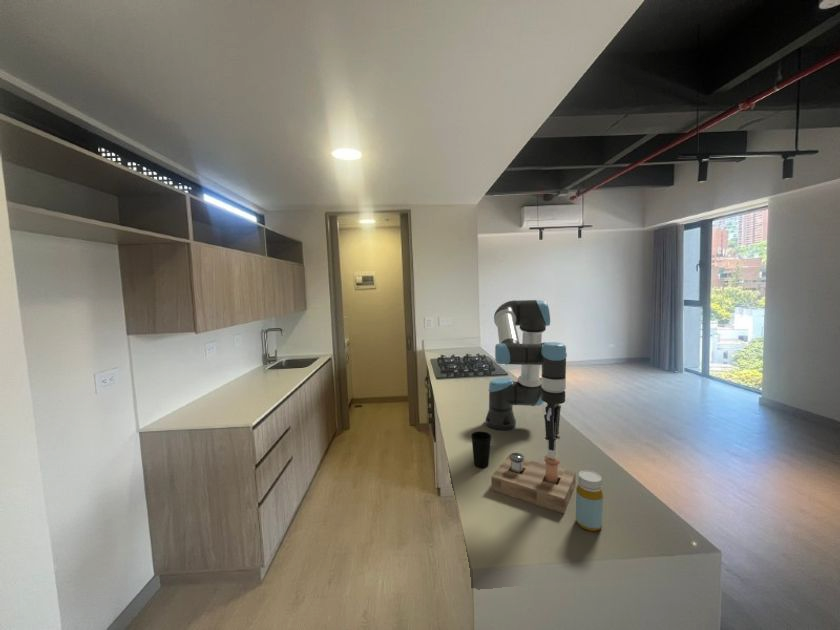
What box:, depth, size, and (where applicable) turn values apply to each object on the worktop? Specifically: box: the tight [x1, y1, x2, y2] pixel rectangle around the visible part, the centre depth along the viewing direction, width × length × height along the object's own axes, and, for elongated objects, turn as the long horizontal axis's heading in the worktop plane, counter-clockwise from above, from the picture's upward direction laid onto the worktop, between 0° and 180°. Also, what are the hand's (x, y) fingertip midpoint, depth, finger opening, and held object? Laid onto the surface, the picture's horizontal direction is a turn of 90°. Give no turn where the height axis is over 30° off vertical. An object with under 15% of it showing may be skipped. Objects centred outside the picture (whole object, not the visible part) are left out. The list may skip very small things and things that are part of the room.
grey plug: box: [509, 452, 525, 475], centre depth 126 cm, size 5×5×9 cm
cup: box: [470, 431, 492, 469], centre depth 139 cm, size 8×8×12 cm
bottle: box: [575, 470, 604, 532], centre depth 103 cm, size 7×7×15 cm
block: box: [490, 454, 577, 515], centre depth 123 cm, size 18×24×5 cm
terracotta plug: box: [544, 455, 561, 485], centre depth 119 cm, size 5×5×9 cm
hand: (552, 457), depth 118 cm, fingers closed
